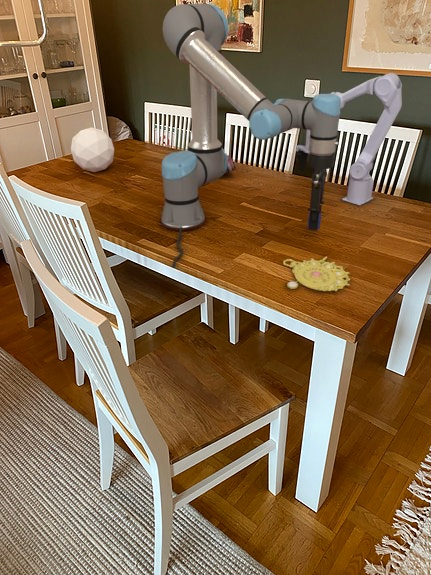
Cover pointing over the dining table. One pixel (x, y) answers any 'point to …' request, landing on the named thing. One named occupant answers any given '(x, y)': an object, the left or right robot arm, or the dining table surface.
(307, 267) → the decorative object
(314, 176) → the left robot arm
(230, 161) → the athletic shoe
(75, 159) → the sphere
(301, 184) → the dining table surface
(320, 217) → the canister
